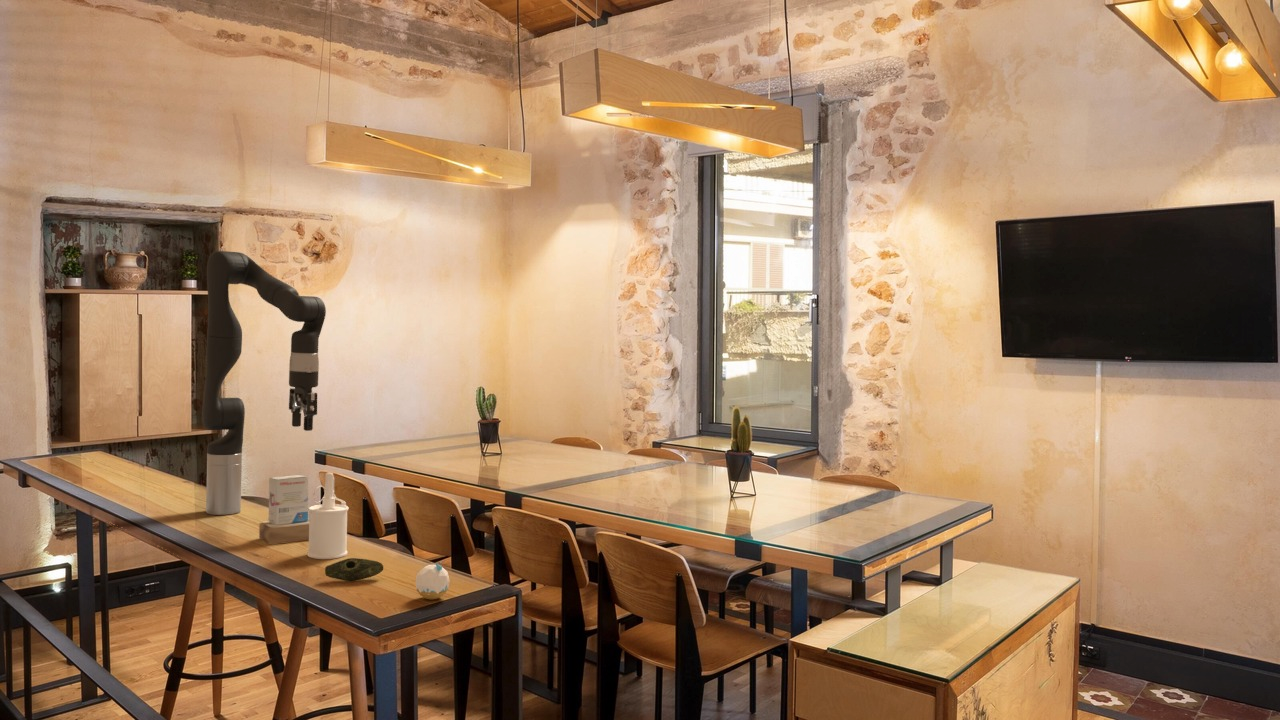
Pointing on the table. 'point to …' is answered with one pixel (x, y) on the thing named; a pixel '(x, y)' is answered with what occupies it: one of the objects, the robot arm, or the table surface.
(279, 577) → the table surface
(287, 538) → the open box
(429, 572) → the ornament
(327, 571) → the decorative stone
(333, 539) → the white canister grenade
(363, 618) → the table surface
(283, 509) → the ink box
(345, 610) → the table surface
